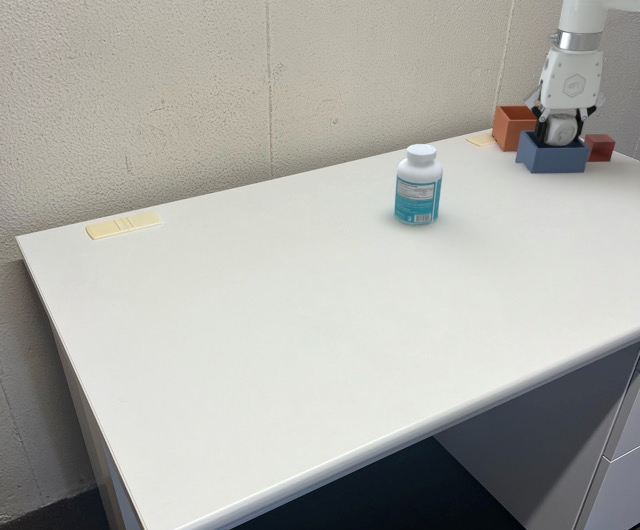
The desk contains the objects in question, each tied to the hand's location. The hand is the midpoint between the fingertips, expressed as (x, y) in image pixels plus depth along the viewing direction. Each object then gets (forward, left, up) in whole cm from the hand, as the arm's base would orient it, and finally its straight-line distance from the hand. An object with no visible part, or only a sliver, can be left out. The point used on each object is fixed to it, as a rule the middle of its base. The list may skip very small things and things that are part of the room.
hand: (556, 138), depth 119 cm
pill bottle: (+30, +22, -7) cm, 38 cm away
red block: (-12, -6, -7) cm, 15 cm away
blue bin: (0, 0, -7) cm, 7 cm away
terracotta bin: (+1, -16, -7) cm, 17 cm away
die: (0, 0, -1) cm, 1 cm away
